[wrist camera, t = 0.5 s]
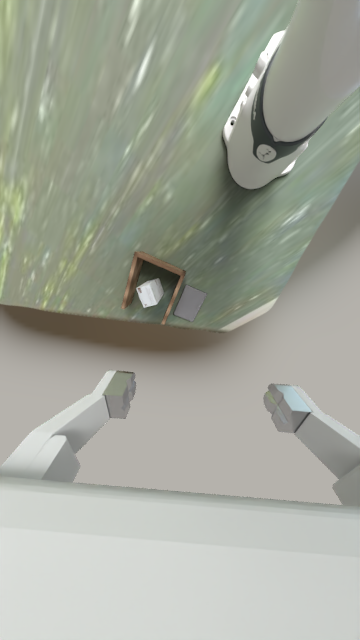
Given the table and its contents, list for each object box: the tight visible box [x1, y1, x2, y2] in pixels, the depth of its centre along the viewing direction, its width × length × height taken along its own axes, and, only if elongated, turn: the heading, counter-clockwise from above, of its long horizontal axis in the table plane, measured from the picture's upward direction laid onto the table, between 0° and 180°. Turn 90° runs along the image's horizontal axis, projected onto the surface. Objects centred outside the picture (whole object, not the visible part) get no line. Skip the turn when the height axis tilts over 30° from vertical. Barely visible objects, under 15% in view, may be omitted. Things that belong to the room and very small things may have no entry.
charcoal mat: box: [174, 285, 207, 322], centre depth 51 cm, size 12×8×1 cm, turn 157°
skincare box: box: [136, 278, 164, 308], centre depth 44 cm, size 6×4×12 cm
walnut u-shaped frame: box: [121, 252, 186, 325], centre depth 46 cm, size 18×15×7 cm
